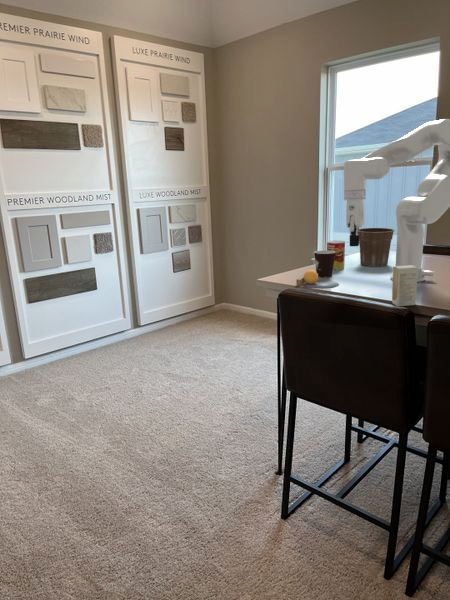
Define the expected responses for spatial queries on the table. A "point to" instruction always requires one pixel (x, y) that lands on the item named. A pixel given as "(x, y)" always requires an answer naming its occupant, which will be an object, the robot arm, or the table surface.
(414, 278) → the skincare box
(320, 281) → the disc
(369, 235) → the plant pot
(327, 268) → the coffee mug
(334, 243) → the canned food
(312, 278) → the ball
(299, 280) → the stopper rail
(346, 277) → the table surface
